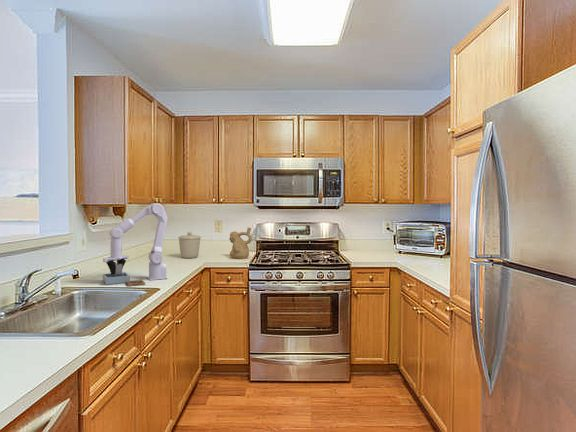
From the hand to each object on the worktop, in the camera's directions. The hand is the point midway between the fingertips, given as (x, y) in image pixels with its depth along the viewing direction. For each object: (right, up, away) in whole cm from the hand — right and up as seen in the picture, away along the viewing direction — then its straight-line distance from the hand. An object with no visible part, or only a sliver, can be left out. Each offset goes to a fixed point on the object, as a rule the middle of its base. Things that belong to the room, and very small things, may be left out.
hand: (116, 273), depth 211 cm
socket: (+13, -5, -5) cm, 14 cm away
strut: (0, -3, 0) cm, 3 cm away
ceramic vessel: (+57, -2, +96) cm, 112 cm away
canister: (+16, -2, +95) cm, 96 cm away
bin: (0, -5, 0) cm, 5 cm away
